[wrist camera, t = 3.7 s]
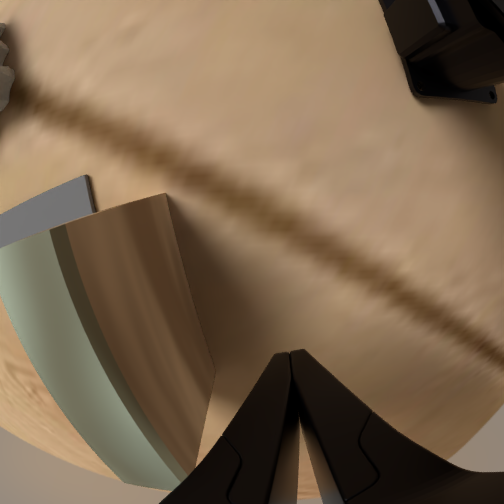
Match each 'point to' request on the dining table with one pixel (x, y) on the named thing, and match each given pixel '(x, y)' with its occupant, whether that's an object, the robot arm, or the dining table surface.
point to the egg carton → (4, 73)
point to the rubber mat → (47, 210)
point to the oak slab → (116, 336)
